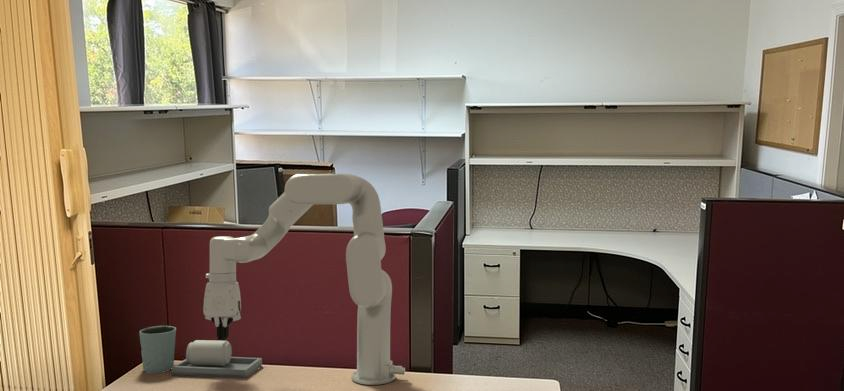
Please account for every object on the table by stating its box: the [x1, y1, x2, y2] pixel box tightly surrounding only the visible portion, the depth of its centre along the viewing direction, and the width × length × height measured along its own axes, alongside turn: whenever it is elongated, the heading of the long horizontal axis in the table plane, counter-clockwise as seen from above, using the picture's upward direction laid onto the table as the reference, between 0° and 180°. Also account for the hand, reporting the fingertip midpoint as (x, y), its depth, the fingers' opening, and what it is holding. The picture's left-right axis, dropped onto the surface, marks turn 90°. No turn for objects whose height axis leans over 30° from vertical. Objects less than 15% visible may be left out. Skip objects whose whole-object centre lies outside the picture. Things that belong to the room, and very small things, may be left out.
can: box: [185, 339, 233, 366], centre depth 187 cm, size 8×8×12 cm
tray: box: [171, 356, 263, 380], centre depth 185 cm, size 22×12×2 cm, turn 83°
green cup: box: [138, 325, 177, 374], centre depth 186 cm, size 10×10×12 cm
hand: (222, 339), depth 185 cm, fingers closed
